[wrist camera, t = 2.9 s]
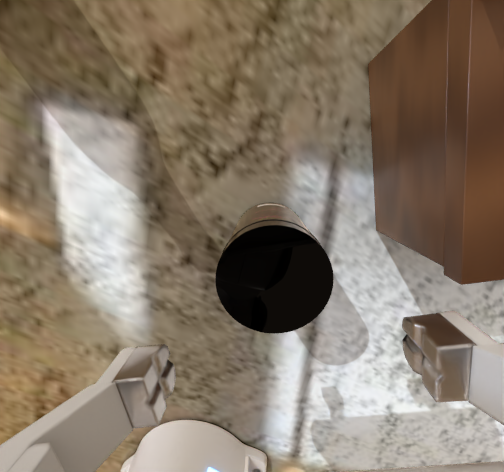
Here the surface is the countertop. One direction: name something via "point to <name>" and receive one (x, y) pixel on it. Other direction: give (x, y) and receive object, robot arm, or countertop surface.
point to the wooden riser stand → (443, 137)
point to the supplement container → (273, 271)
